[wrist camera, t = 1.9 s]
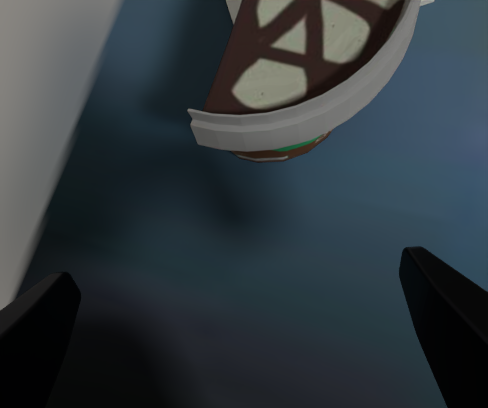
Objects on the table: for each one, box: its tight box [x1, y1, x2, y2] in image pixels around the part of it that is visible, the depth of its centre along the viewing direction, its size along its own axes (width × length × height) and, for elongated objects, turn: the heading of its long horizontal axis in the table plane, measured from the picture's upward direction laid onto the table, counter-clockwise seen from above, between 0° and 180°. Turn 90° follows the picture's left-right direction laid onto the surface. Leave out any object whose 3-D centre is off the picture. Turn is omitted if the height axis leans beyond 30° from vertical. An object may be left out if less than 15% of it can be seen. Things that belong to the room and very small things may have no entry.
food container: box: [188, 0, 421, 163], centre depth 16 cm, size 12×6×10 cm, turn 160°
